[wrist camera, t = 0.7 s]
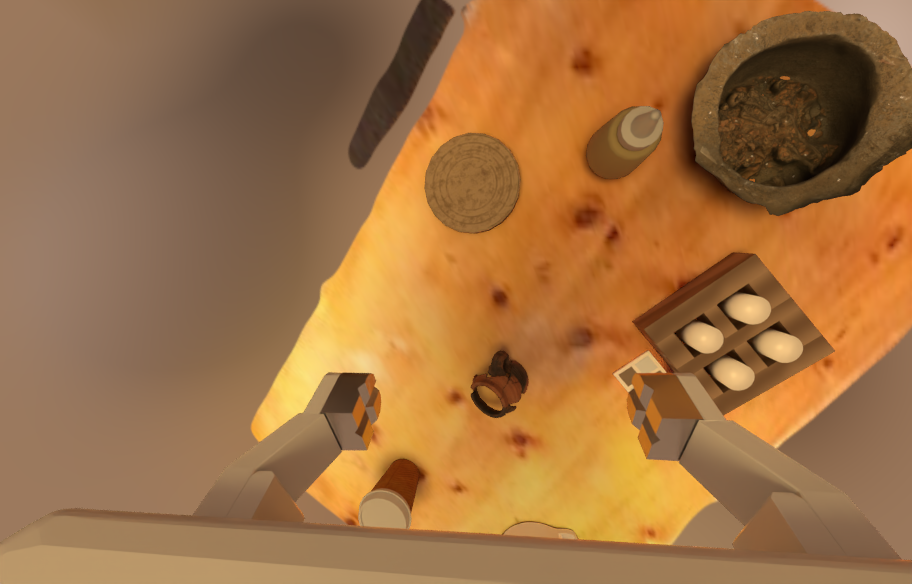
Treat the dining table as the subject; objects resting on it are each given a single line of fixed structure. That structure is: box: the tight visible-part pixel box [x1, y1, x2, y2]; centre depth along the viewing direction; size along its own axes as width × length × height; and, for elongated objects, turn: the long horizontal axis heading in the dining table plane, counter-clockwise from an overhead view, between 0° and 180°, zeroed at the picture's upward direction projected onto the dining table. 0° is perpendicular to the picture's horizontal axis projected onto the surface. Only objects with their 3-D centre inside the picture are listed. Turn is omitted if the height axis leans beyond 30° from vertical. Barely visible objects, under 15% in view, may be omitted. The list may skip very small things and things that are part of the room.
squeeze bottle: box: [586, 106, 663, 179], centre depth 44 cm, size 8×8×18 cm
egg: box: [676, 319, 724, 353], centre depth 50 cm, size 4×4×5 cm
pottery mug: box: [471, 351, 528, 418], centre depth 59 cm, size 12×10×8 cm
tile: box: [613, 350, 667, 393], centre depth 56 cm, size 7×7×1 cm
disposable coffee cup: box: [359, 459, 419, 529], centre depth 62 cm, size 10×10×12 cm
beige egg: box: [717, 292, 771, 325], centre depth 48 cm, size 4×4×5 cm
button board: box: [633, 253, 835, 415], centre depth 51 cm, size 18×18×5 cm
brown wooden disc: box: [425, 133, 520, 233], centre depth 56 cm, size 16×16×3 cm
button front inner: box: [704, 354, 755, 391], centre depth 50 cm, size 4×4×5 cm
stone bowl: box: [692, 11, 912, 216], centre depth 45 cm, size 25×25×9 cm
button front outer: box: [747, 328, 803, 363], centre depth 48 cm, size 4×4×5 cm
